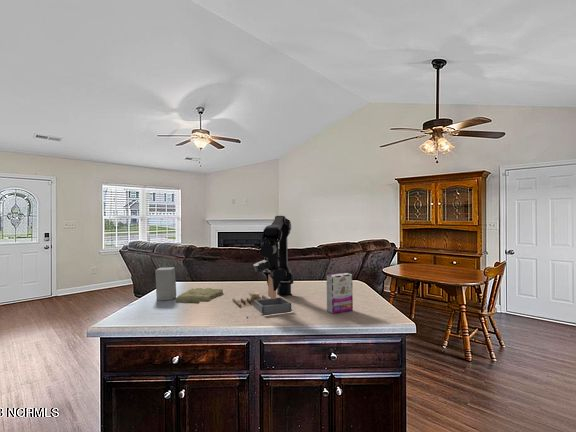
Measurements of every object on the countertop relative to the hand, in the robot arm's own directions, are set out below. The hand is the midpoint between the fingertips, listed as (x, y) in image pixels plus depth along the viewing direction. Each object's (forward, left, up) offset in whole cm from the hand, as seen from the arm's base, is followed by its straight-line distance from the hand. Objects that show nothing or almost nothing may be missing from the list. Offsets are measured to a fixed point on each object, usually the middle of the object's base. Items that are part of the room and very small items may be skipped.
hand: (272, 289), depth 146 cm
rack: (+5, -13, -9) cm, 17 cm away
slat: (0, 0, -4) cm, 4 cm away
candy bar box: (-27, +14, -10) cm, 32 cm away
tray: (0, 0, -9) cm, 9 cm away
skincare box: (+42, -40, -10) cm, 59 cm away
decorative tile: (+25, -36, -10) cm, 45 cm away
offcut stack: (+4, -13, -9) cm, 17 cm away
